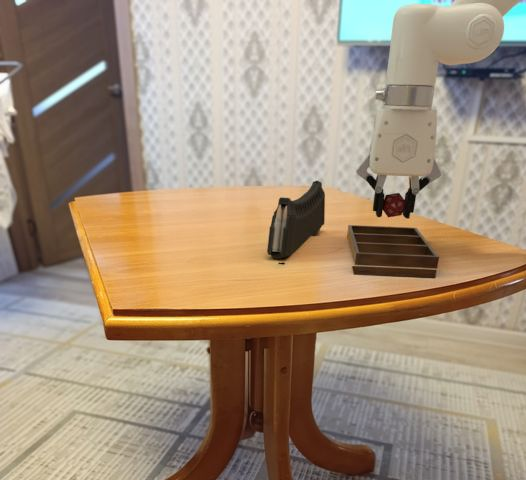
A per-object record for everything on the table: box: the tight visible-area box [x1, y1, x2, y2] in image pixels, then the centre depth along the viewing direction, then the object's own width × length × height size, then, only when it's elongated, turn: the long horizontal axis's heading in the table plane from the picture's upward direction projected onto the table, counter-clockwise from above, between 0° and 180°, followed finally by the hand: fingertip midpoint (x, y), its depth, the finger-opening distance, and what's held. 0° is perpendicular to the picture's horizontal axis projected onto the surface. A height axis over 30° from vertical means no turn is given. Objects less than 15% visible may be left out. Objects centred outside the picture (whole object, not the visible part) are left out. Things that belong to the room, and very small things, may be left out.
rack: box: [346, 224, 440, 279], centre depth 91 cm, size 13×20×4 cm, turn 175°
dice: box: [382, 192, 406, 218], centre depth 88 cm, size 4×4×4 cm
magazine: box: [266, 180, 326, 266], centre depth 96 cm, size 17×3×30 cm
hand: (392, 215), depth 88 cm, fingers closed on dice, 4 cm apart
